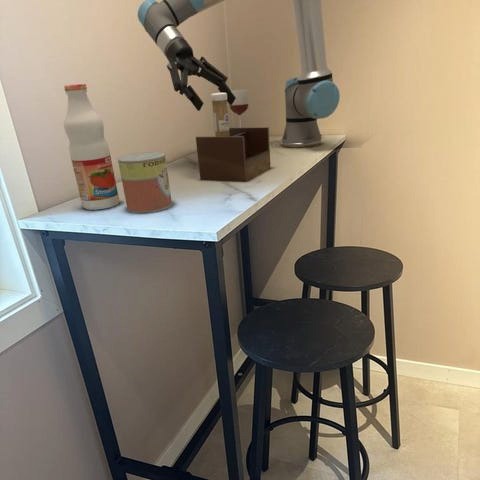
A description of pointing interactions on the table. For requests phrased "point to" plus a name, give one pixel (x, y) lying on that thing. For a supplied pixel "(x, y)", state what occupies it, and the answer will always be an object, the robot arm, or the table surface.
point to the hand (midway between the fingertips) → (217, 104)
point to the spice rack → (234, 154)
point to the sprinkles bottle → (220, 114)
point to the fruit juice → (89, 151)
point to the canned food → (145, 182)
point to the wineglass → (240, 102)
